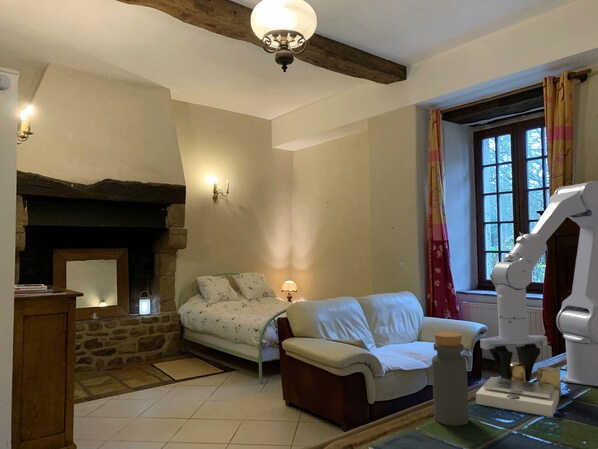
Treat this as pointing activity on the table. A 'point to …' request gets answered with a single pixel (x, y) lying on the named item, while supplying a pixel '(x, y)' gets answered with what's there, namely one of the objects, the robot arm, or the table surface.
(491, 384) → the scale pan
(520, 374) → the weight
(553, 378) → the cylinder
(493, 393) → the scale
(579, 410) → the table surface
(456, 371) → the bottle
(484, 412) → the table surface
